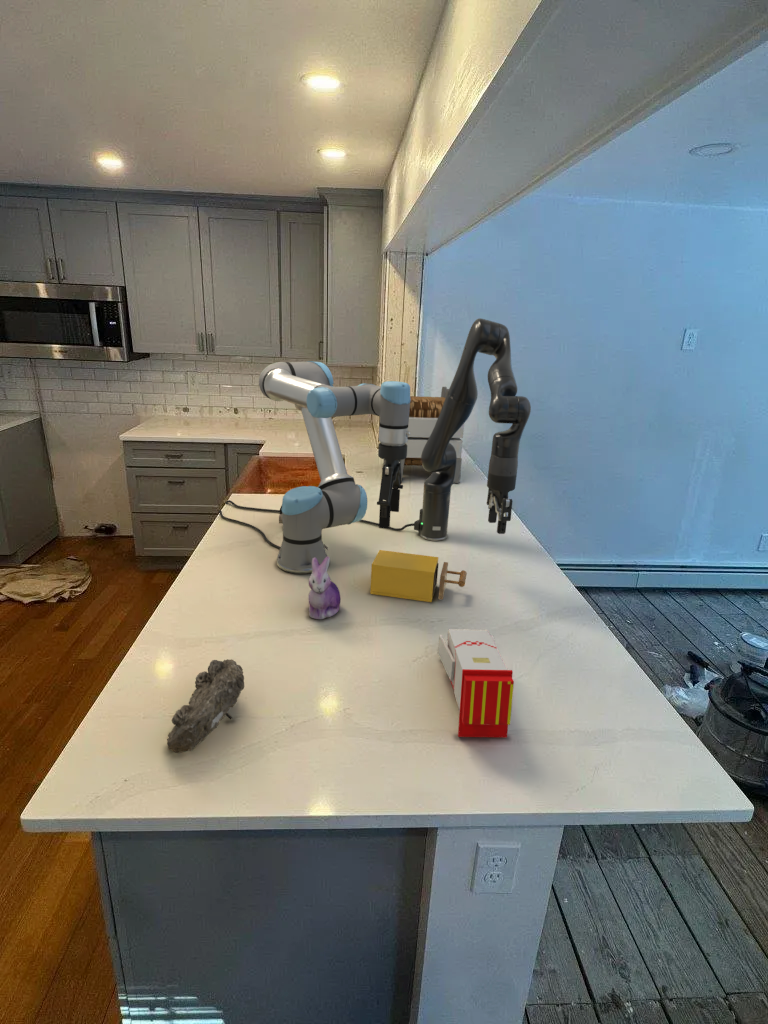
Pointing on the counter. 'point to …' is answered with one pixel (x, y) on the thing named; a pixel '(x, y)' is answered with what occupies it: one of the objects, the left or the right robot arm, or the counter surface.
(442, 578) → the drawer
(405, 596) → the cabinet
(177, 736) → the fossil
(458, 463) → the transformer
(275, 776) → the counter surface
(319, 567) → the figurine
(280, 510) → the figurine character
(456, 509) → the counter surface
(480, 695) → the toy
